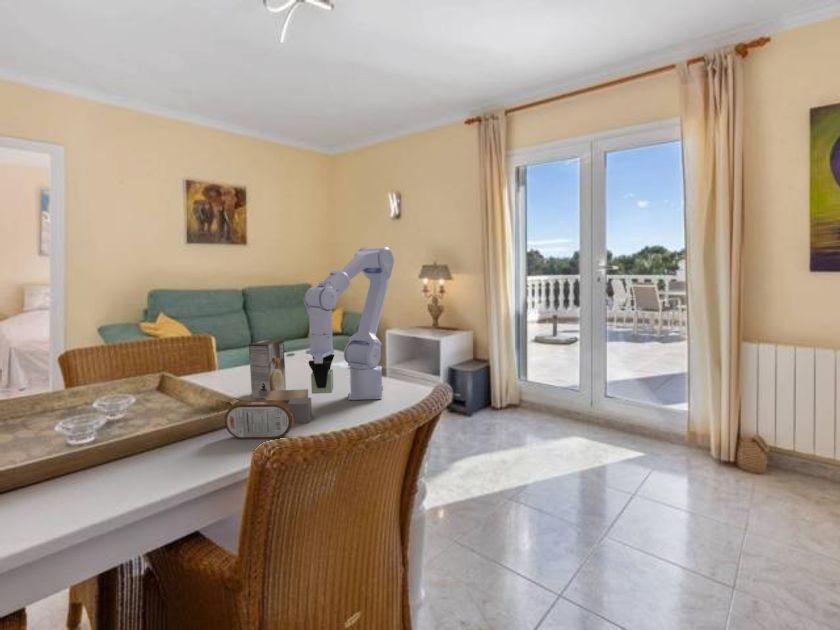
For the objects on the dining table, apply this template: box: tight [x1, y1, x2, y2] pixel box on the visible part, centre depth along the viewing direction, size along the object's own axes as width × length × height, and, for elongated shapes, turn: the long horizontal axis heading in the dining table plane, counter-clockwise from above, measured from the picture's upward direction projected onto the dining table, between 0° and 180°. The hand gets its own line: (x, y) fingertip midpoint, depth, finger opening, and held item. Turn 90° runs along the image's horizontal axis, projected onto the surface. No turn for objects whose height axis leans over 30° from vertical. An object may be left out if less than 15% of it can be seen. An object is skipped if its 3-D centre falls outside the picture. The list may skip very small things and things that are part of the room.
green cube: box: [310, 369, 334, 395], centre depth 120 cm, size 5×5×5 cm
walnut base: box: [264, 388, 309, 404], centre depth 124 cm, size 10×10×4 cm
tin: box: [224, 399, 295, 440], centre depth 102 cm, size 15×3×8 cm, turn 92°
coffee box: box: [248, 338, 287, 400], centre depth 136 cm, size 9×6×16 cm
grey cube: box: [288, 397, 313, 424], centre depth 114 cm, size 5×5×5 cm
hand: (322, 384), depth 120 cm, fingers closed on green cube, 5 cm apart
